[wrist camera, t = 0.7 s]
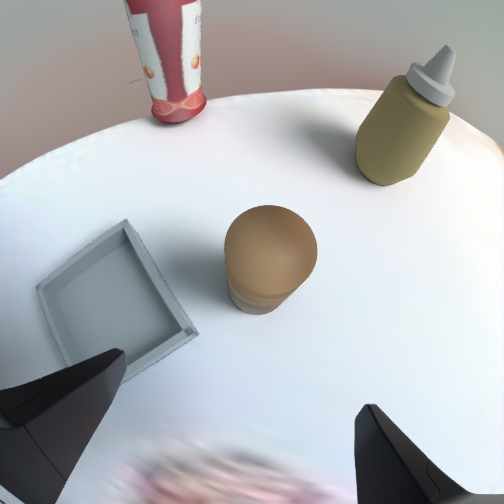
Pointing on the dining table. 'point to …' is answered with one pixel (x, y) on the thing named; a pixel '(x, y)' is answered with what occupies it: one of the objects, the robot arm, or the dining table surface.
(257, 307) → the walnut cylinder
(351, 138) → the dining table surface
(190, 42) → the liquor
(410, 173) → the squeeze bottle
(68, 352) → the bin
